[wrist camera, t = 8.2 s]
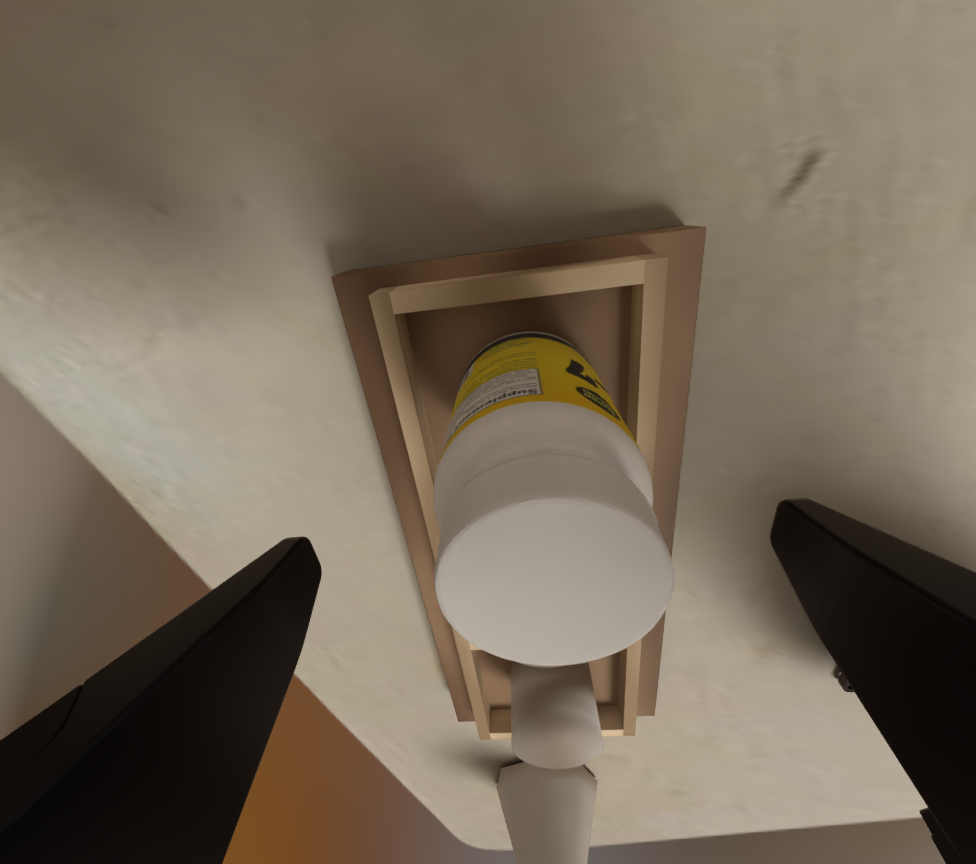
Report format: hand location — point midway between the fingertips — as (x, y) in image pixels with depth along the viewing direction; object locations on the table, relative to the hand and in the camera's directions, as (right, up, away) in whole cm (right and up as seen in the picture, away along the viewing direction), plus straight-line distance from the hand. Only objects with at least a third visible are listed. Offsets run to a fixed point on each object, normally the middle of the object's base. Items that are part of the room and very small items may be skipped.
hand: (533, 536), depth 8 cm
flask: (+3, -23, +22) cm, 32 cm away
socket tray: (+1, -3, +11) cm, 11 cm away
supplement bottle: (+1, +3, +6) cm, 7 cm away
